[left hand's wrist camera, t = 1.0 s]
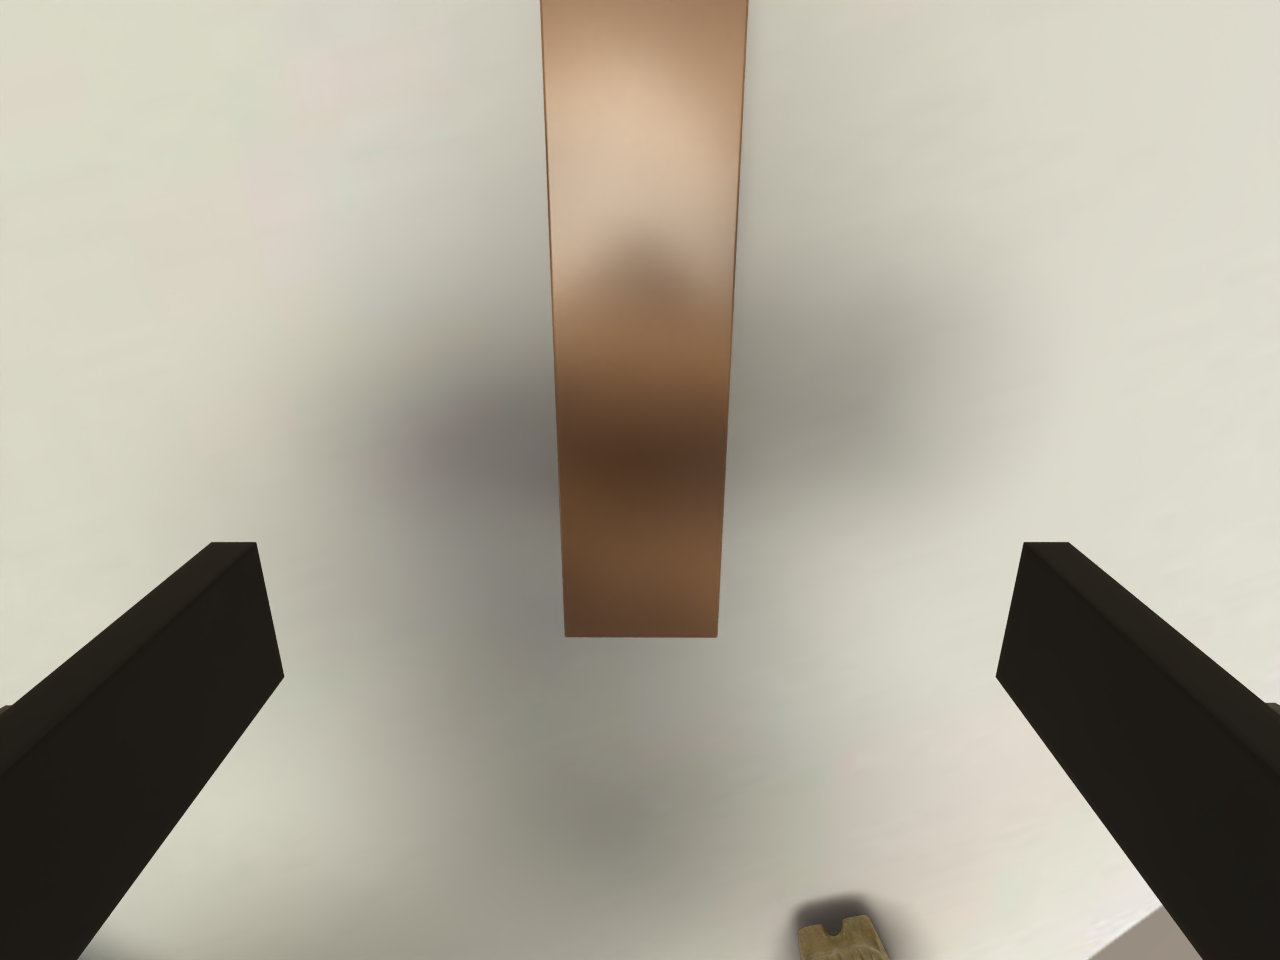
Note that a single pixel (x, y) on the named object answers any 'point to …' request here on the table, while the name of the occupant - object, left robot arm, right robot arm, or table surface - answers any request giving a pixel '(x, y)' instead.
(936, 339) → the table surface
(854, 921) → the sculpture
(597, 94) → the post
